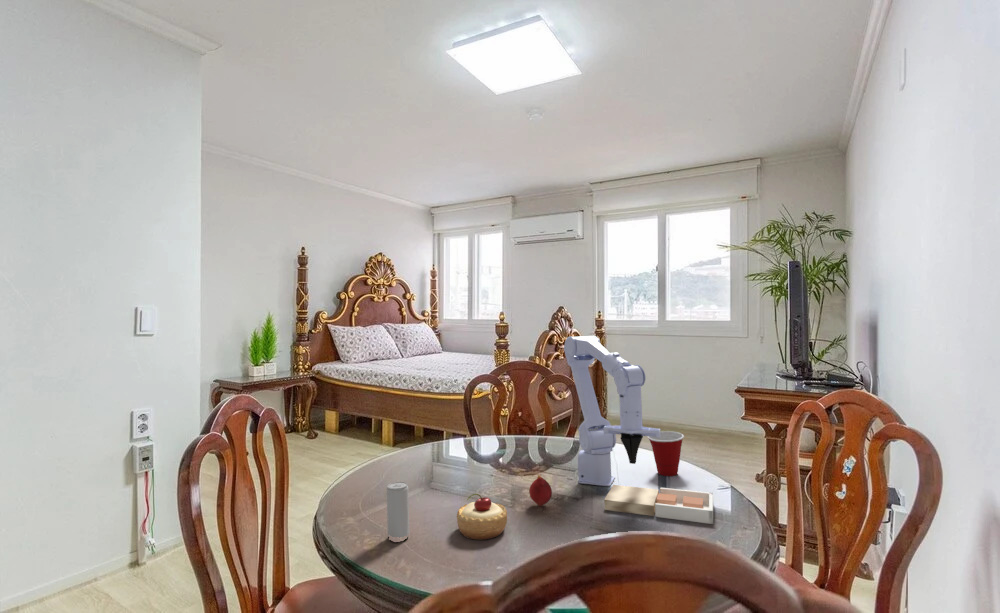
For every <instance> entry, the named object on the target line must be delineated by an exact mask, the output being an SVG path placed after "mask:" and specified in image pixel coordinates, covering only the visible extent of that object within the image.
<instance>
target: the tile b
mask: <svg viewBox="0 0 1000 613" xmlns="http://www.w3.org/2000/svg"><path fill="white" fill-rule="evenodd" d="M683 506H685V507H693V508H702V509H704V506H703V498H695V497H686V496H684V499H683Z"/></svg>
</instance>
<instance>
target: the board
mask: <svg viewBox="0 0 1000 613" xmlns="http://www.w3.org/2000/svg"><path fill="white" fill-rule="evenodd" d="M658 493H660V489H657V488H648V487H639V486H627V485H620V484H613V485H612V486H611V488H610V489H609V491H608V493H607V494H606V496H605V498H604V503H603V504H604V510H605V511H612V512H619V513H620V512H621V513H627V514H636V515H642V516H651V517H654V516H655V515H656V514H655V503H656V499H657V495H658Z"/></svg>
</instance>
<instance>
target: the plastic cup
mask: <svg viewBox="0 0 1000 613" xmlns="http://www.w3.org/2000/svg"><path fill="white" fill-rule="evenodd" d="M660 434H661V436H660V438H658V437H652V436H647V439H648V440H649V441H650V446H651V448H652V453H653V457H654V462H655V465H656V466H655V468H656V470H657V474H658V475H661V476H664V477H673V476H677V475H678V472H679V466H680V459H681V452H682V446H683V440H684V438H685V435H684V434H683V433H681V432H678V431H671V430H666V431H665V430H660Z"/></svg>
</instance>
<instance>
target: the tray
mask: <svg viewBox="0 0 1000 613" xmlns="http://www.w3.org/2000/svg"><path fill="white" fill-rule="evenodd" d="M659 493H661V494H670V495H677V506H676V505H668V504H659V503H655V514H654V515H655V517H656V518H663V519H672V520H678V521H686V522H695V523H702V524H710V525H713V524H714V493H713V492H707V491H700V490H699V491H698V490H697V491H696V490H689V489H688V490H686V489H679V488H669V487H660V488H659ZM684 496H686V497H695V498H703V506H704V509H702V508H693V507H685V506H683V499H684Z"/></svg>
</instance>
